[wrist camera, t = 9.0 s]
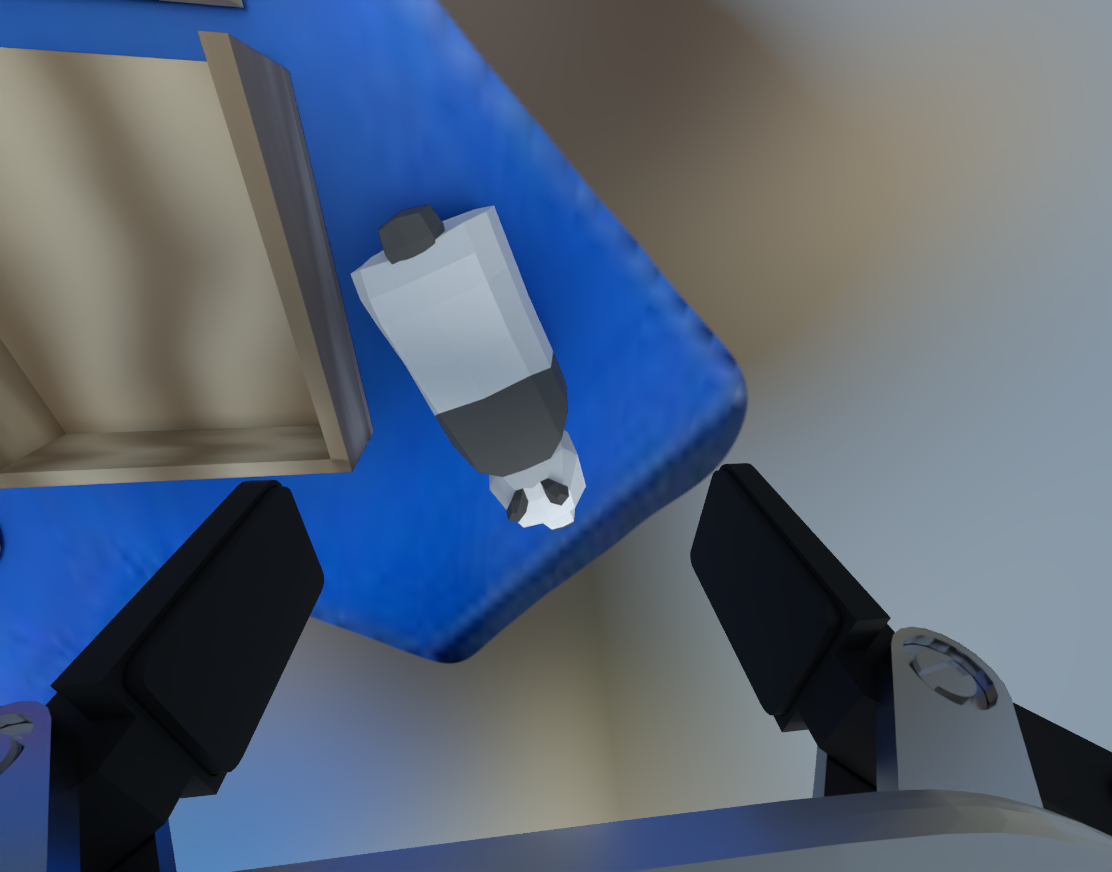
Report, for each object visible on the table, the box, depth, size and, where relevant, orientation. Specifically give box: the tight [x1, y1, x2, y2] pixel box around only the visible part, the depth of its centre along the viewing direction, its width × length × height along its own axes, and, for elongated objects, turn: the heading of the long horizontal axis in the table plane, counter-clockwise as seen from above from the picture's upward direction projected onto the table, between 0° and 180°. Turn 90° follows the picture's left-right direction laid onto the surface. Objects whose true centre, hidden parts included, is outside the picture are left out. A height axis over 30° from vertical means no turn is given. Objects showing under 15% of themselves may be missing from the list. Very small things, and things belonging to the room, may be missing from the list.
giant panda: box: [351, 204, 586, 530], centre depth 18 cm, size 15×6×10 cm, turn 21°
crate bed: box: [0, 31, 374, 489], centre depth 16 cm, size 16×16×4 cm
